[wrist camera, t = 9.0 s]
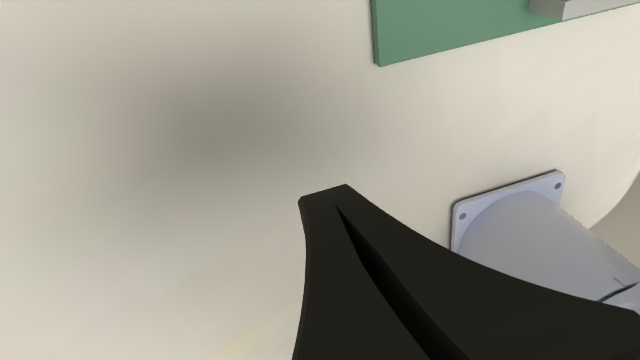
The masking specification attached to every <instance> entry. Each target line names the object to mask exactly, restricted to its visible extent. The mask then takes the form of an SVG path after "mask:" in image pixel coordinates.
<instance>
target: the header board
mask: <svg viewBox="0 0 640 360" xmlns="http://www.w3.org/2000/svg"><path fill="white" fill-rule="evenodd" d="M636 3H640V0H371V11H372V27H373V42H374V58H375V64H377V65H378V66H379V67H382V66H386V65H390V64H394V63H398V62H402V61H406V60H410V59H414V58H418V57H422V56H426V55H430V54H434V53H438V52H442V51H446V50H450V49H454V48H459V47H463V46H467V45H471V44H475V43H479V42H483V41H487V40H491V39H495V38H499V37H503V36H507V35H511V34H515V33H519V32H523V31H527V30H531V29H535V28H539V27H543V26H547V25H551V24H555V23H560V22H564V21H568V20H572V19H576V18H580V17H584V16H588V15H592V14H596V13H600V12H604V11H608V10H612V9H616V8H620V7H624V6H628V5H632V4H636Z"/></svg>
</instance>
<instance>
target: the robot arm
mask: <svg viewBox="0 0 640 360" xmlns="http://www.w3.org/2000/svg"><path fill="white" fill-rule="evenodd" d="M564 181H565V174H564V173H563V172H561V171H555V172H552V173H548V174H545V175H542V176H539V177H536V178H532V179H529V180H526V181H523V182H520V183H516V184H513V185H510V186H507V187H504V188H500V189H497V190H494V191H491V192H488V193H484V194H481V195H478V196H475V197H472V198H468V199H465V200H462V201H459V202H457V203H456V204H455V206H454V208H453V219H452V237H451V250H449V249H446V248H444V247H443V246H441V245H439V244H437V243H435V242H433V241H431V240H430V239H428V238H426V237H424V236H423V235H421V234H419V233H417V232H416V231H414V230H412V229H411V228H409V227H407V226H406V225H404V224H403V223H401V222H400V221H398V220H397V219H395V218H394V217H392V216H390V215H389V214H387V213H386V212H384V211H383V210H382V209H380V208H379V207H377V206H376V205H374V204H373V203H372V202H370V201H369V200H368V199H366V198H365V197H363V196H362V195H361V194H359V193H358V192H357V191H355V190H354V189H353V188H351V187H350V186H348V185H347V184H343V185H340V186H336V187H333V188H330V189H326V190H323V191H319V192H316V193H312V194H309V195H305V196H302V197H301V198H300V199H299V201H298V205H299V210H300V214H301V219H302V224H303V228H304V233H305V239H306V267H305V284H304V294H303V302H302V309H301V316H300V322H299V327H298V333H297V338H296V343H295V348H294V352H293V357H292V360H640V269H639V268H638V267H636V266H635V265H634V264H633V263H631V262H630V261H628V260H627V259H626V258H625V257H623V256H622V255H621V254H620V253H618V252H617V251H616V250H614V249H613V248H612V247H611V246H609V245H608V244H607V243H605V242H604V241H603V240H601V239H600V238H599V237H598V236H596V235H595V234H594V233H592V232H591V231H590V230H588V229H587V228H586V227H585V226H583V225H582V224H581V223H579V222H578V221H577V220H575V219H574V218H573V217H572V216H570V215H569V214H568V213H566V212H565V211H564V210H562V209H561V208H560V207H559V202H560V198H561V194H562V189H563V185H564Z"/></svg>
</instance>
